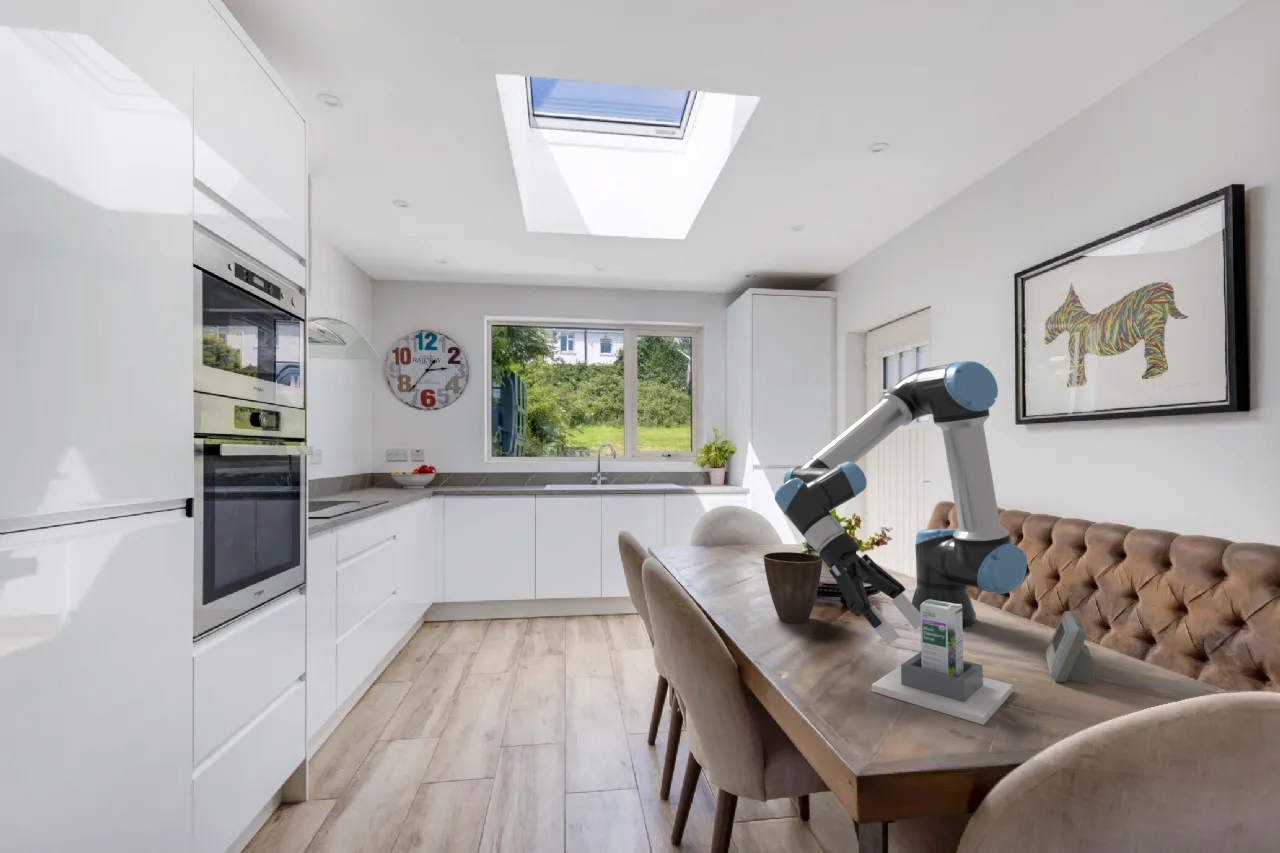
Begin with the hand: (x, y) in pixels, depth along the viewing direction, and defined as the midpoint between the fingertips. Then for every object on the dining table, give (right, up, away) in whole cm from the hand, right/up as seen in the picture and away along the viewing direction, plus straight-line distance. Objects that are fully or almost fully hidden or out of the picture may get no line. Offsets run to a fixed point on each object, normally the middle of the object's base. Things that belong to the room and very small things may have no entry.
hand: (908, 632), depth 109 cm
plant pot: (-11, -11, +41) cm, 44 cm away
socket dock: (+4, -9, -4) cm, 11 cm away
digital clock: (+33, -10, +5) cm, 35 cm away
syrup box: (+4, -8, -4) cm, 10 cm away
